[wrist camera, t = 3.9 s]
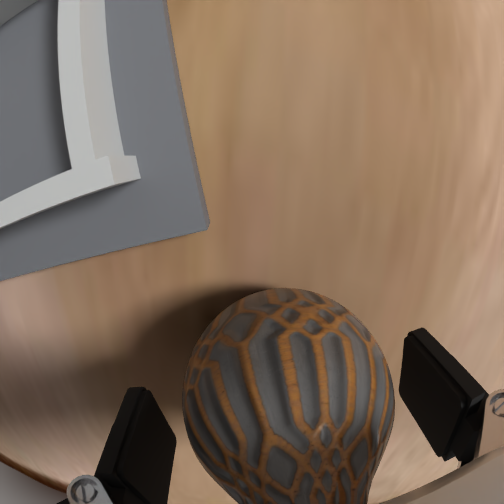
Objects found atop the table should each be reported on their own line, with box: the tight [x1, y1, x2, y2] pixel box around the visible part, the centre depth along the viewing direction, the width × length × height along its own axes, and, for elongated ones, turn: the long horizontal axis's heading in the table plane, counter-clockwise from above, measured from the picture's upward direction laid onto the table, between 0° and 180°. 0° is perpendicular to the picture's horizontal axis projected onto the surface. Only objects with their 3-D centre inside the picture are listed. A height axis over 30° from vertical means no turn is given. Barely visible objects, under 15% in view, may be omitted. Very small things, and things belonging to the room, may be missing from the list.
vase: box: [182, 288, 395, 504], centre depth 9 cm, size 7×7×9 cm
